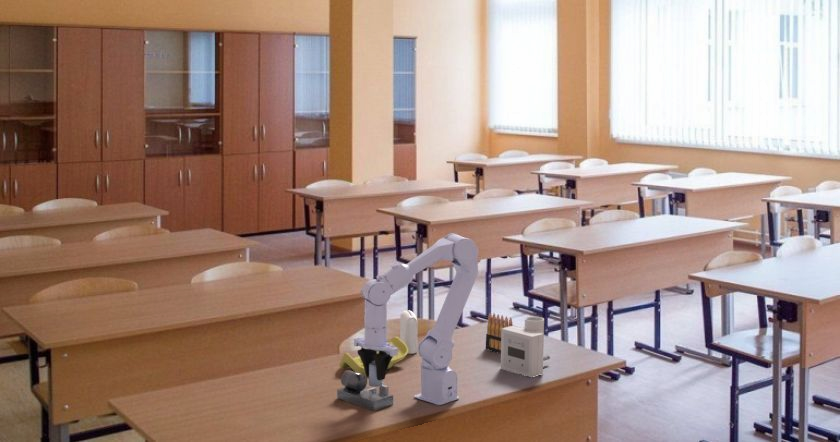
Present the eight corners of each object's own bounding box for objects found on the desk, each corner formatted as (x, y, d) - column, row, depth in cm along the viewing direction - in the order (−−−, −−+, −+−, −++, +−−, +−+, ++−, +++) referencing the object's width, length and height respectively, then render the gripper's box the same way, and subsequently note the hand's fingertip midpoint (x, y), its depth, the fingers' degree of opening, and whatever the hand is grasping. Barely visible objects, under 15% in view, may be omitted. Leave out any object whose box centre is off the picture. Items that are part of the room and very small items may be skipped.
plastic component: (363, 370, 280) (342, 349, 286) (357, 390, 284) (337, 369, 290) (414, 352, 294) (394, 332, 299) (408, 371, 297) (388, 351, 303)
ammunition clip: (485, 349, 312) (485, 312, 310) (489, 348, 313) (490, 311, 311) (510, 356, 304) (510, 318, 302) (514, 355, 305) (515, 317, 303)
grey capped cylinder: (385, 384, 258) (385, 361, 257) (377, 387, 255) (377, 364, 254) (374, 381, 260) (374, 359, 259) (366, 385, 257) (366, 362, 256)
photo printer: (398, 345, 315) (398, 307, 313) (411, 345, 316) (412, 307, 314) (405, 354, 305) (405, 315, 303) (418, 353, 306) (419, 314, 304)
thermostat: (500, 368, 291) (501, 319, 289) (532, 360, 300) (534, 311, 298) (531, 378, 282) (532, 326, 280) (563, 369, 291) (565, 319, 289)
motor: (393, 404, 258) (393, 378, 257) (373, 410, 253) (373, 384, 252) (354, 391, 269) (354, 367, 268) (334, 397, 264) (334, 372, 263)
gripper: (345, 324, 257) (345, 374, 259) (384, 334, 247) (383, 387, 249) (365, 319, 262) (364, 369, 264) (404, 329, 252) (403, 381, 254)
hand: (375, 377), depth 257 cm, fingers closed on grey capped cylinder, 4 cm apart
